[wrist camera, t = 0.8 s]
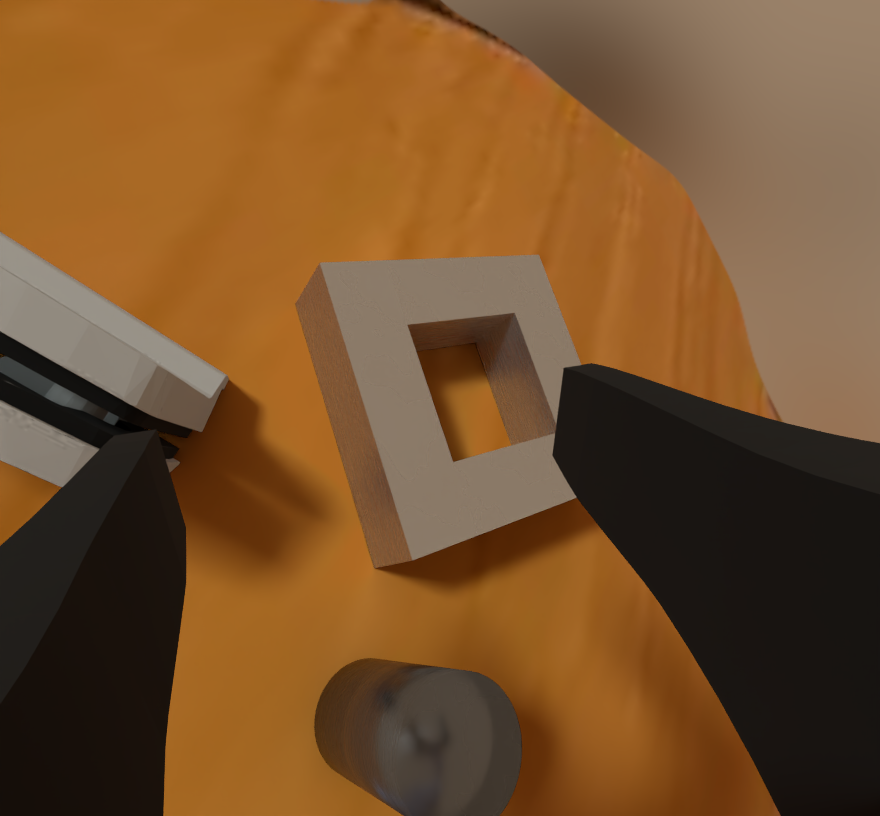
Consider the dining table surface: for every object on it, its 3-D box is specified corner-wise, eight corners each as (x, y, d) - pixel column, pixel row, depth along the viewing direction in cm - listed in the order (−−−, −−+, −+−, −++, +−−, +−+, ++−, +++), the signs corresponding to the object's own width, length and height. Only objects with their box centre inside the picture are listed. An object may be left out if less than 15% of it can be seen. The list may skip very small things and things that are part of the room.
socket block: (575, 492, 30) (625, 479, 27) (374, 568, 23) (412, 560, 20) (499, 288, 32) (538, 254, 29) (295, 303, 25) (319, 262, 22)
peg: (427, 744, 22) (540, 787, 16) (332, 802, 20) (424, 874, 14) (396, 641, 23) (494, 647, 17) (301, 685, 20) (377, 710, 15)
